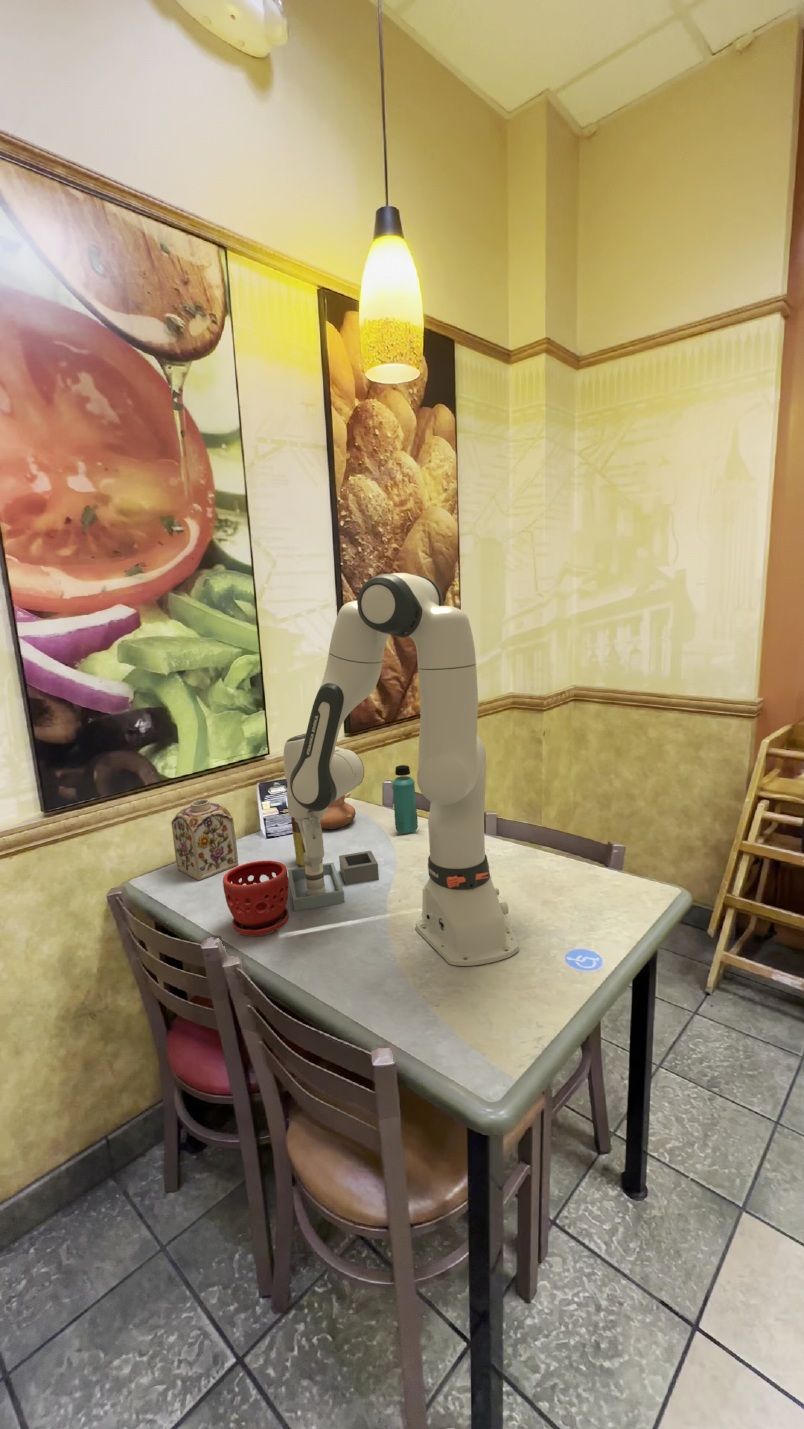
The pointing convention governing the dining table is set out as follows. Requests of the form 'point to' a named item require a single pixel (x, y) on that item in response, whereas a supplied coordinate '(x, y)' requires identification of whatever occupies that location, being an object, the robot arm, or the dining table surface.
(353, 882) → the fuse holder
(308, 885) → the cylinder
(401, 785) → the beverage bottle
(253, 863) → the plant pot
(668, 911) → the dining table surface
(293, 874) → the parts tray
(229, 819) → the decorative jar
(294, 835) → the sauce bottle
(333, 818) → the ceramic jug
